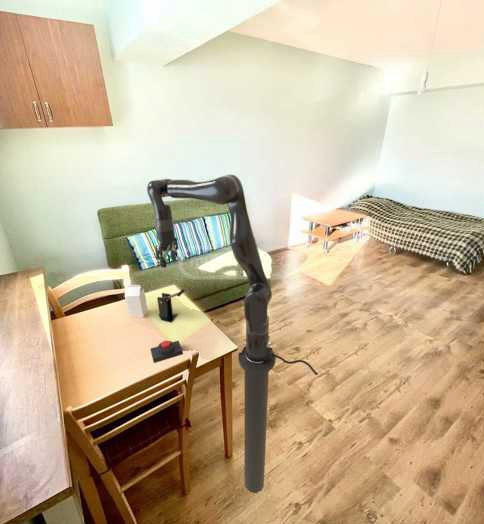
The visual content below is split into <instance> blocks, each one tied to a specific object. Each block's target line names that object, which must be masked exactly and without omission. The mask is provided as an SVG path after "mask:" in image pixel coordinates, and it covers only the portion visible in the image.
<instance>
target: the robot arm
mask: <svg viewBox="0 0 484 524" xmlns="http://www.w3.org/2000/svg"><path fill="white" fill-rule="evenodd" d="M146 192H147V196H148V198H149V201H150V204H151V206H152V207H153V212H154V225H155V233H156V239H157V241H159V245H155V246H154V247H155V257H156V258H155V259H156V260H159V261H160V267H161V268H164V269H165V268H167V256H168V254H169V252H170V259H171V261H175V262H176V261H177V251H178V250H179V242H178V237H176V233H175V224H174V223H175V222H174V219H173V218H174V217H173V211H172V210H173V209H172V205H171V204H170V203H168V202H164V199H163V198H167V197H170V198H172V199H179V200H180V199H181V200H182V199H183V200H198V201H204V202H208V203H212V204H214V205H215V204H216V205H220V206H224V205H227V208H228V211H229V216H230V217H229V218H230V223H229V224H230V225H229V245H230V248H231V250H232V255H233V256H234V260H235V261H236V263H238V265H239V266H240V267H241V268H242V269H243V271H244V273H245V275H246V277H247V282H248V286H249V289H248V291H247V292H246V294H245V295H244V298H243V312H244V313H243V314H244V315H243V316H244V319H245V346H244V347H245V349H246V359H247V360H248V361H249V362H250V363H253V364H262V363H265V364H266V362H267V360H268V361H270V360H271V357H272V356H274V357H276V358H277V359H278V360H280V361H282V362H283V363H285V364H287V365H291V364H297V363H302V364H305V365H306V366H308V368H309V369H310V370H311V372H312V373H313V374H314V375H315V376H318V375H319V374H318V372H317V371H316V370H315V369H314V368H313V366H312V365H311V364H310V363H309V362H307V361H305V360H303V359H297V360H292V361H291V360H290V361H289V360H286V359H285V358H283V357H282V356H279V355H277V354H276V353H275V354H272V352H274V350H273V349H274V348H273V347H270V344H271V342H270V341H271V340H270V338H271V337H270V335H269V334H270V317H269V315H268V308H269V307H268V306H269V304H270V303H271V301H272V297H273V292H272V287H271V285H270V284H269V281H268V278H267V275H266V274H265V271H264V267H263V263H262V260H261V256H260V253H259V247H258V244H257V241H256V237H255V235H254V231H253V227H252V224H251V220H250V216H249V212H248V209H247V203H246V197H245V196H246V195H245V191H244V187H243V184H242V181H241V179H239V177H238V176H236V175H235V174H231V173H230V174H226V175H221V176H218V177H216V178H213V179H210V180H206V181H194V180H191V179H171V178H161V179H154V180H150V181H149V182H148V183H147V185H146Z"/></svg>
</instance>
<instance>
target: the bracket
mask: <svg viewBox="0 0 484 524" xmlns="http://www.w3.org/2000/svg"><path fill="white" fill-rule="evenodd" d="M170 295H171V293H165V292H162V293H161V296H157V299H156V300H157V307H158V312H159V314H158V317H159V319H160V320H161V321H163V322H167V323H173V322H174V320H176V318H177V317H178V315H179V313H173V304H172V298H169V300H167V301H166V298H162V297H163V296H167V297H168V296H170Z"/></svg>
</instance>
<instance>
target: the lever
mask: <svg viewBox="0 0 484 524" xmlns="http://www.w3.org/2000/svg"><path fill="white" fill-rule="evenodd" d="M185 291H186V290H185V289H184V288H182V289H181V290H180V291H179V292H176V293H173V294H170V296H168V297H167V296H163V297H162V296H161V297H162V298H166V301H167V300H169V298H171V299H172V298H175V297H180V296H182V295H183V293H184V292H185Z"/></svg>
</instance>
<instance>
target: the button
mask: <svg viewBox="0 0 484 524" xmlns="http://www.w3.org/2000/svg"><path fill="white" fill-rule="evenodd" d="M170 341H171V340H163V341H162V343H161V342H160V343H161V347H162V349H168V348H170Z"/></svg>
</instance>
